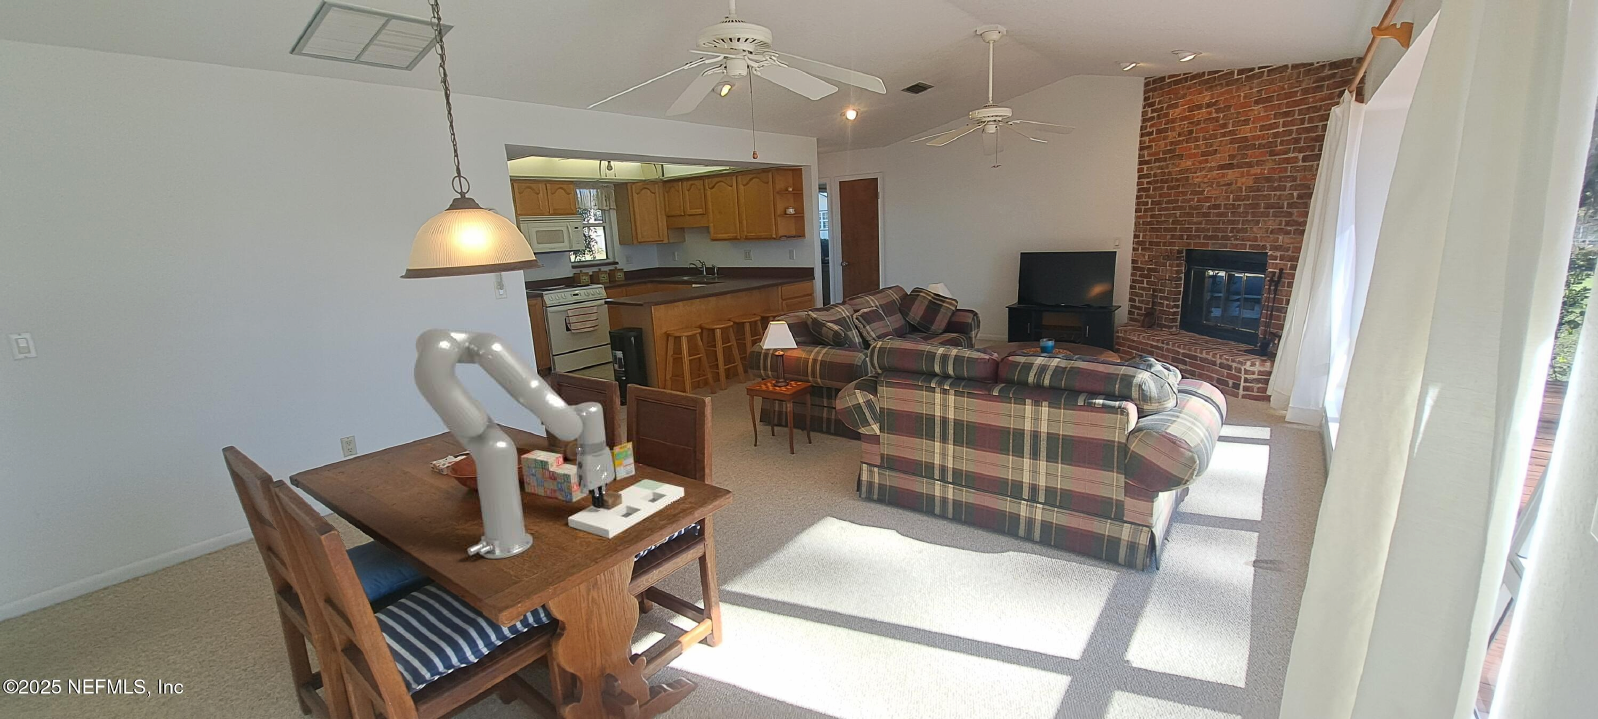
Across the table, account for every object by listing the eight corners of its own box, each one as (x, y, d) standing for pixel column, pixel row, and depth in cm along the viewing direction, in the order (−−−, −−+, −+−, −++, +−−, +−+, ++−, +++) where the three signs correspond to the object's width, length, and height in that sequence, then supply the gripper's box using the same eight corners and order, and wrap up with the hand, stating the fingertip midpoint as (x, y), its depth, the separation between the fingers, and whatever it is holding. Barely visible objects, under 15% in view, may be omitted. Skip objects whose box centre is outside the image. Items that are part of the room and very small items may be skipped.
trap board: (609, 538, 169) (608, 529, 168) (568, 525, 177) (567, 517, 176) (684, 495, 195) (683, 487, 195) (646, 486, 203) (645, 478, 202)
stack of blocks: (588, 495, 198) (584, 458, 195) (572, 503, 192) (568, 465, 190) (540, 484, 207) (536, 449, 205) (524, 491, 202) (520, 455, 199)
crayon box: (630, 471, 215) (627, 439, 213) (635, 474, 214) (632, 441, 211) (611, 478, 210) (608, 445, 208) (616, 480, 208) (613, 447, 206)
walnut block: (609, 510, 180) (608, 500, 180) (597, 506, 183) (596, 497, 182) (622, 503, 185) (621, 493, 184) (610, 500, 187) (609, 490, 186)
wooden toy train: (565, 465, 224) (560, 420, 220) (543, 460, 229) (538, 416, 226) (606, 447, 241) (602, 406, 237) (585, 443, 246) (581, 402, 243)
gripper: (580, 457, 168) (587, 520, 172) (621, 440, 180) (627, 499, 184) (561, 452, 171) (568, 514, 175) (603, 436, 184) (609, 494, 188)
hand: (598, 506), depth 180 cm, fingers closed
